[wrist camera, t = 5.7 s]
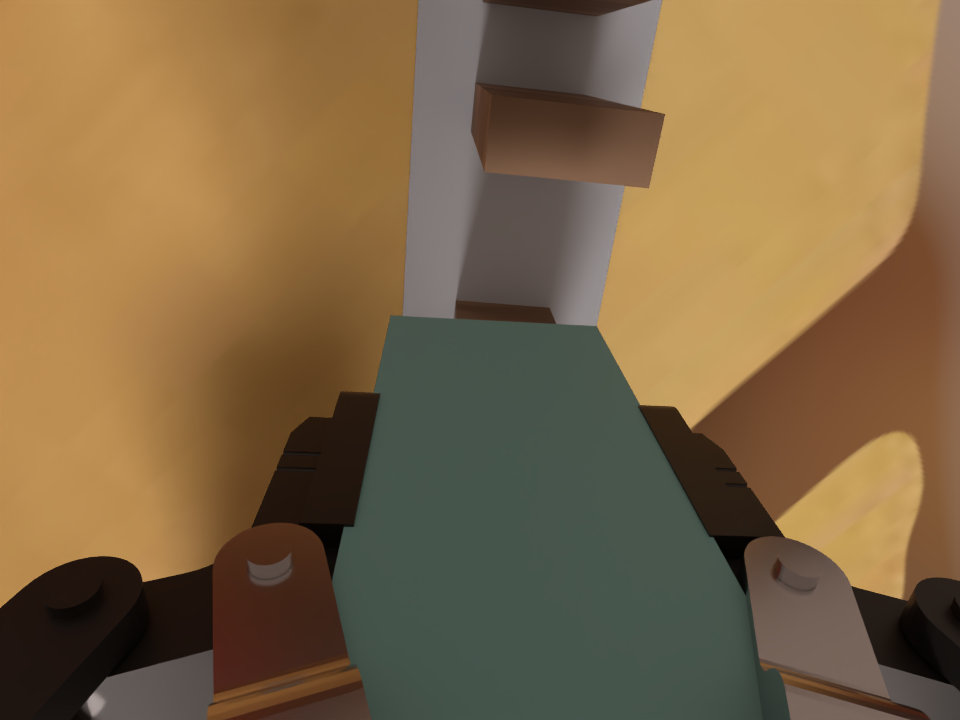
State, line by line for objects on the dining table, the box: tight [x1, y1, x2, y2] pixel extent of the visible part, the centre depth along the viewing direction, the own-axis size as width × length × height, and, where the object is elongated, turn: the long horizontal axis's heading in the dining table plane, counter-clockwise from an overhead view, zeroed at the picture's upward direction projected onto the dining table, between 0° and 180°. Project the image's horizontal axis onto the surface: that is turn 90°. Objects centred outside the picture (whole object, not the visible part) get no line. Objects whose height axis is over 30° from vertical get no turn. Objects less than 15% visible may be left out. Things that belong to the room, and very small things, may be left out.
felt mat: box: [403, 0, 662, 326], centre depth 29 cm, size 26×10×1 cm, turn 174°
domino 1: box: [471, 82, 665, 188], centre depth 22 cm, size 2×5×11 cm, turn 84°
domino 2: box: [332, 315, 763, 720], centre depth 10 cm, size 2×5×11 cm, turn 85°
